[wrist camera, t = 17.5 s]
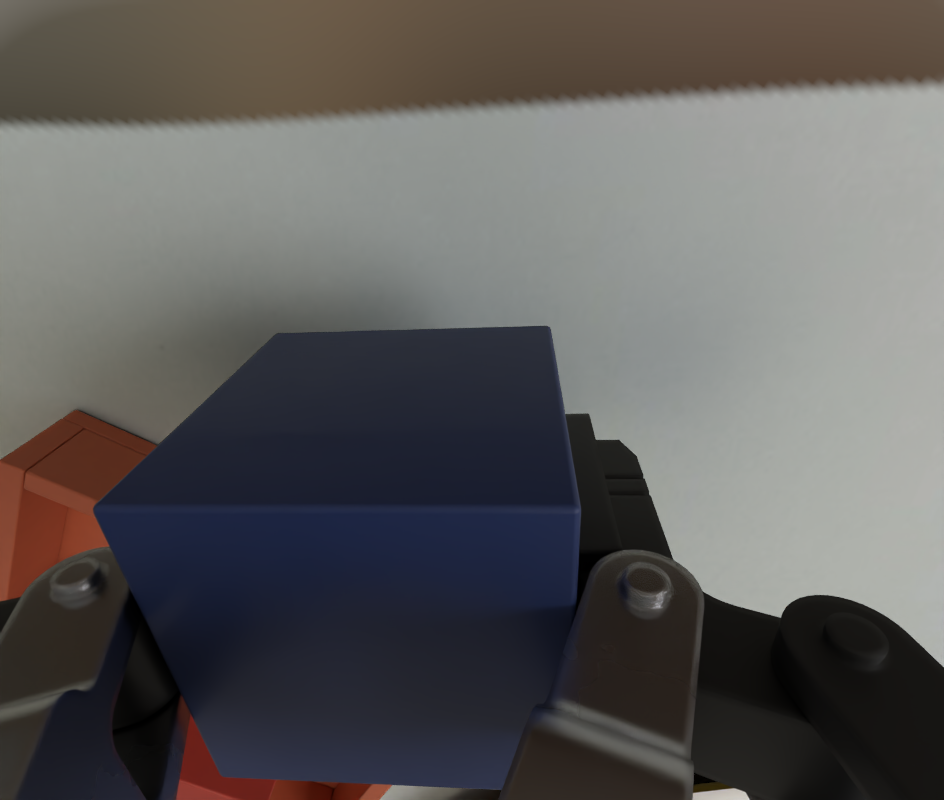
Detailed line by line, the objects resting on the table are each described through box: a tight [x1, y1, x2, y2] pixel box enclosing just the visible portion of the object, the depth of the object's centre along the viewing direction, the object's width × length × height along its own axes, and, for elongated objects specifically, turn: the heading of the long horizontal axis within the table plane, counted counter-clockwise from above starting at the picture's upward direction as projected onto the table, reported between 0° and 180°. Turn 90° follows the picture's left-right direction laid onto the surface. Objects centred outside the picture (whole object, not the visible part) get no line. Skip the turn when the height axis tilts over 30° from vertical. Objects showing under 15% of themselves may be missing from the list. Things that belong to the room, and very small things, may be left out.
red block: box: [176, 715, 276, 800], centre depth 16 cm, size 5×5×5 cm
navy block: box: [93, 326, 581, 790], centre depth 9 cm, size 5×5×5 cm
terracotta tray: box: [0, 410, 392, 800], centre depth 18 cm, size 13×13×2 cm
